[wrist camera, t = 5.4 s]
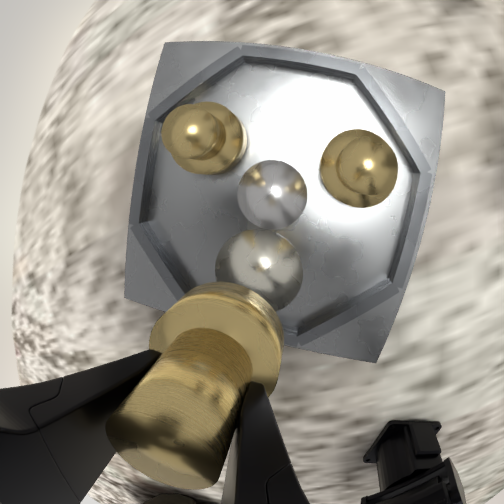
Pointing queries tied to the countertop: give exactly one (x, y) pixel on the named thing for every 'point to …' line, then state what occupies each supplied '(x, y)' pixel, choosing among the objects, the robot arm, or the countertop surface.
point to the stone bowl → (170, 499)
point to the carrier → (284, 187)
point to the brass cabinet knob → (198, 384)
